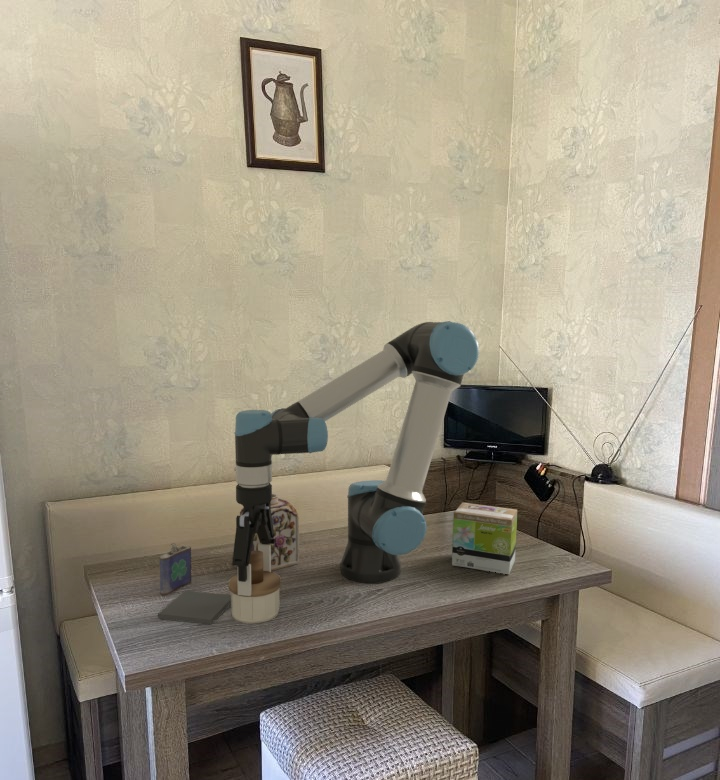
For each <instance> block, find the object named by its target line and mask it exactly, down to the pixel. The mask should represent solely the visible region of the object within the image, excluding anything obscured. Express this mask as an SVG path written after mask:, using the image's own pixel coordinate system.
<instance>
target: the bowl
mask: <svg viewBox="0 0 720 780" xmlns="http://www.w3.org/2000/svg"><path fill="white" fill-rule="evenodd" d="M230 595H231V604H230V610H231V617H232V618H233V620H234V621H236V622H239V623H244V624H251V625H252V624H254V625H255V624H260V623H261V624H262V623H265V622H269V621H271V620H273V619H274V618H276V617H277V616H278V615H279V613H280V611H279V609H280V588H279V589H278V590H277V591H275V592H273V593H271V594H268V595H264V596H258V597H244V596H239V595H236V594H233V593H232V592H231V591H230Z"/></svg>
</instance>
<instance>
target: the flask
mask: <svg viewBox="0 0 720 780" xmlns="http://www.w3.org/2000/svg"><path fill="white" fill-rule="evenodd" d="M169 547H170V550H169V551H168V552H165V553H164V554H162V555H160V556H159V587H160V588H159V594H160V595H161V596H164V597H165V596H166V595H172V594H173V593H175V592H177V591H179V590H181V588H184V587H186V586H188V585H190V584H192V547H191V546H189V545H181V546H178V545H177V544H176V543H175V542H173V543H171V544H169Z"/></svg>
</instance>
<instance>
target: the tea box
mask: <svg viewBox="0 0 720 780" xmlns="http://www.w3.org/2000/svg"><path fill="white" fill-rule="evenodd" d="M452 519H453V520H452V521H453V522H452V525H453V526H452V542H451V545H452V547H451V549H452V550H451V551H452V552H451V564H452V567H463V568H467V569H468V568H469V569H474V570H480V571H484V572H489V571H490V572H489V573H495V572H496V573H495V574H500V573H503V574H502V575H505V574H509V575H510V573H511V570H512V569H513V566H514V564H515V561H516V549H517V527H518V523H517V522H518V508H517V509H515V508H508V507H507V508H506V507H501V506H500V507H498V506H492V505H485V504H477V503H469V502H461V504H459V506H458V507H457V509H456V510H455V511H454V512H453V518H452Z"/></svg>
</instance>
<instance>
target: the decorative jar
mask: <svg viewBox="0 0 720 780" xmlns="http://www.w3.org/2000/svg"><path fill="white" fill-rule="evenodd" d="M278 497H279V496H278V495H277V494H275V493H272V500H271V515H272V522H273V528H274V538H271V539H275V543H274V544H270V545H271V572H274V571H278V570H281V569H285V568H287V567H288V568H289V567H291V566H294V565H295V566H296V565H298V564H299V558H300V529H299V528H300V523H299V522H300V518H299V512H298V511H297V509H296V507H295V506H294V504H293V503H292V501H289V500H288V499H284V498H280V497H279V498H278ZM243 508H244V507H243V506H242V508H241V509H240V511H239V516H242V513H243ZM269 532H270V531H269ZM259 544H262V543H260V541H259V538H258V535H257V533H256V534H255V535H254V541H253V546H252V551H258V545H259ZM284 567H285V568H284Z"/></svg>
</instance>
